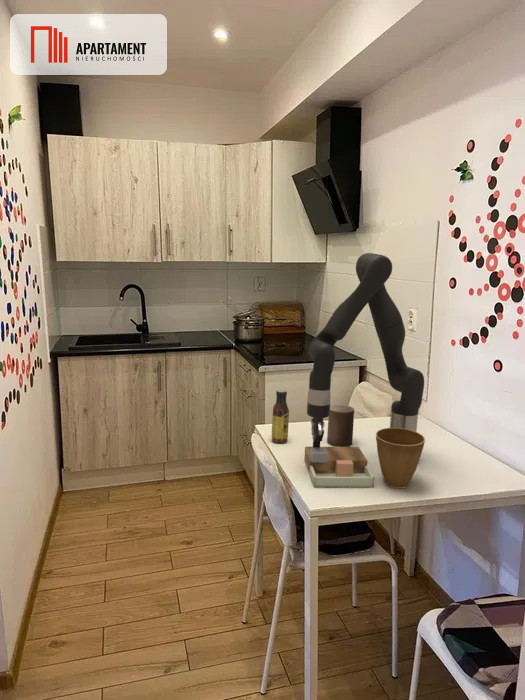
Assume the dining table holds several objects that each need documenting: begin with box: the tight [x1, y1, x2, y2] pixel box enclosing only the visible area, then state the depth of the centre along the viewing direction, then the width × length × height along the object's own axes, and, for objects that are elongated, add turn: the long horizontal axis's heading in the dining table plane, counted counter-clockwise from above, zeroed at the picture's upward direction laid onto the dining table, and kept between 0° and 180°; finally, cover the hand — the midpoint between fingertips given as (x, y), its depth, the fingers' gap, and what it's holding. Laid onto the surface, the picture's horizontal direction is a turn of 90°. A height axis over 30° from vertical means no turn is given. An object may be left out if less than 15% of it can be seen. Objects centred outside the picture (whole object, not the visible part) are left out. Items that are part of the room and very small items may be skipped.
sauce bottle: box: [271, 389, 290, 444], centre depth 195 cm, size 7×6×20 cm
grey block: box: [310, 448, 328, 462], centre depth 168 cm, size 5×5×3 cm
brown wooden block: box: [303, 446, 368, 474], centre depth 174 cm, size 19×12×5 cm, turn 93°
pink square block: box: [335, 460, 353, 477], centre depth 166 cm, size 5×5×3 cm
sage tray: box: [308, 465, 376, 489], centre depth 164 cm, size 19×9×3 cm, turn 93°
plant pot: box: [375, 427, 426, 489], centre depth 162 cm, size 15×15×16 cm
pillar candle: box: [326, 404, 355, 447], centre depth 196 cm, size 10×10×15 cm
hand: (316, 450), depth 172 cm, fingers closed
